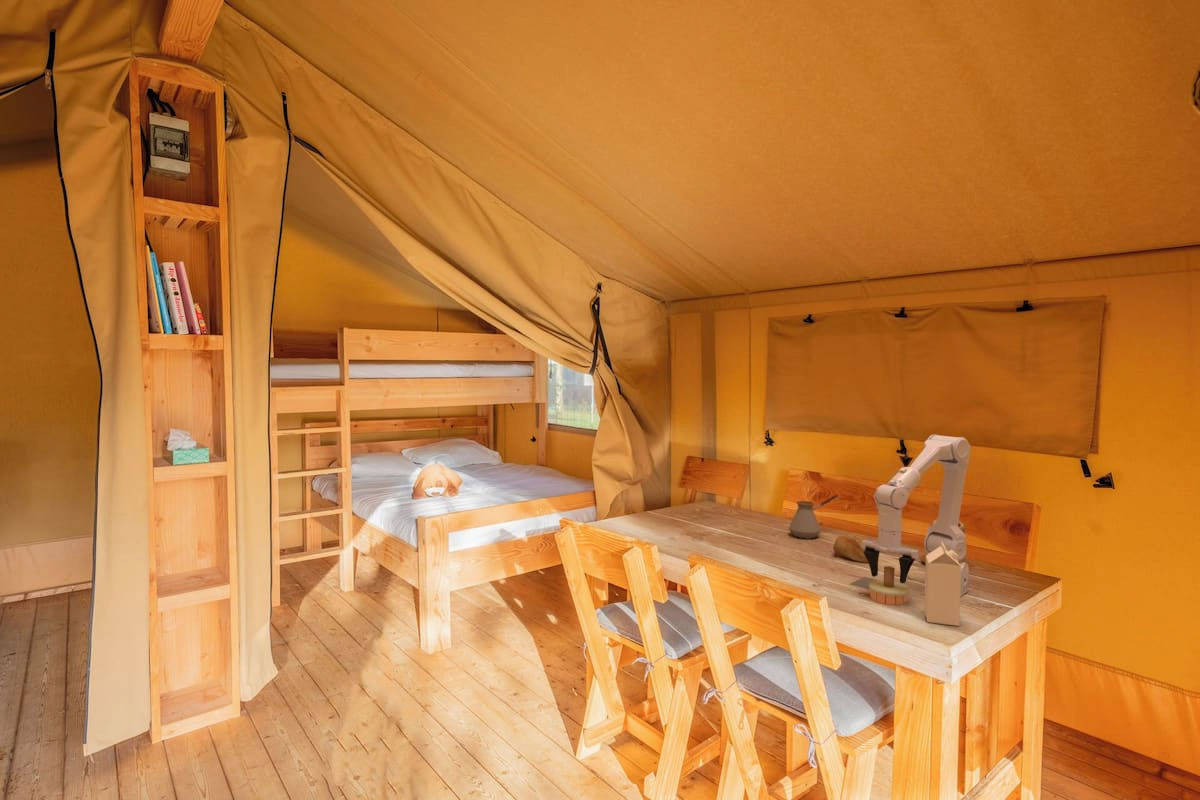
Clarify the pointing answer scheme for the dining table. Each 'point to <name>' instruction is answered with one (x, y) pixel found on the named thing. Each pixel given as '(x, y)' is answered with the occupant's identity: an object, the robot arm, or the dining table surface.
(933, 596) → the milk carton
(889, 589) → the lid
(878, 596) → the bowl
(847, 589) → the dining table surface
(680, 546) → the dining table surface
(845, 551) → the bread roll
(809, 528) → the coffee pot
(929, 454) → the robot arm
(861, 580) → the mat
